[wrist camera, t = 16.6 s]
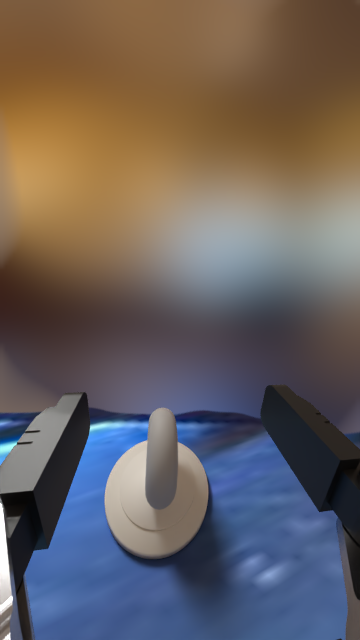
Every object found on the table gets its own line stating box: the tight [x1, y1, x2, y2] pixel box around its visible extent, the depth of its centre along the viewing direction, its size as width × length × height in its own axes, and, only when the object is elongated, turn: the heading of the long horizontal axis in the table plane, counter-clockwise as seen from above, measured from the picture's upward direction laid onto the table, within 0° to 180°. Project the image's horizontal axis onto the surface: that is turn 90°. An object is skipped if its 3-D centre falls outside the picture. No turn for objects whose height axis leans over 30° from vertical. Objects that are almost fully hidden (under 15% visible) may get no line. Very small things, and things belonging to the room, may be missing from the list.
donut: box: [145, 408, 178, 510], centre depth 24 cm, size 10×4×10 cm, turn 6°
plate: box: [105, 440, 208, 559], centre depth 26 cm, size 13×13×1 cm
